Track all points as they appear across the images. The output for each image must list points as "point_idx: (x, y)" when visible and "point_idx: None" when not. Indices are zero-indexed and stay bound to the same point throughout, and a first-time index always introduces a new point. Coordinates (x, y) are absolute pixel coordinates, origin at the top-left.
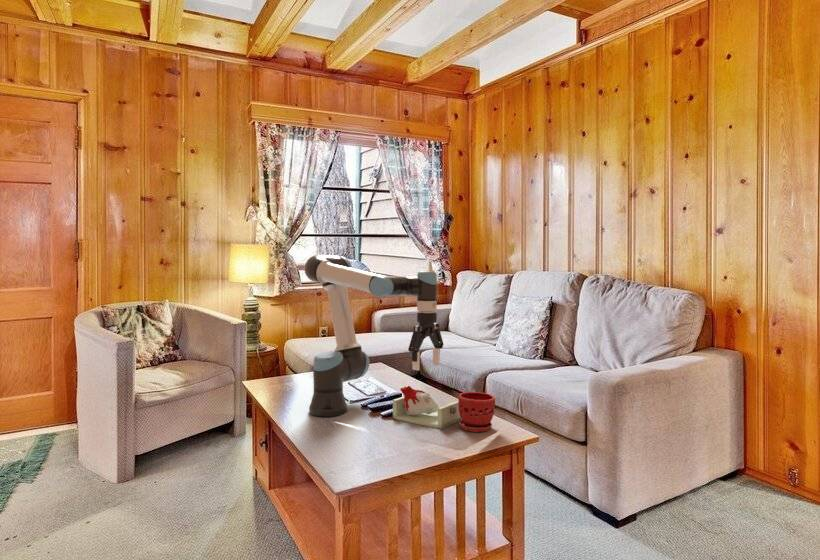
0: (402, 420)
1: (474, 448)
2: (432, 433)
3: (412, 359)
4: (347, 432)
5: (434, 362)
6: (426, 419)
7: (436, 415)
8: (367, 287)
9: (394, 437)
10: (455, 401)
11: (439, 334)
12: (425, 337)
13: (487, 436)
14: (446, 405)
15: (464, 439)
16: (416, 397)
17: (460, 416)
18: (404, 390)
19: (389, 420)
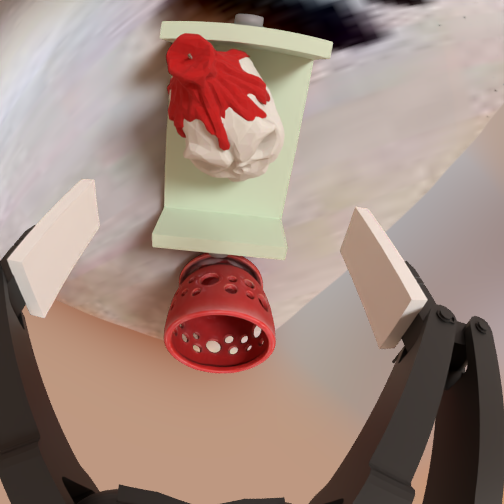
0: None
1: (109, 311)
2: (121, 212)
3: (23, 238)
4: (15, 39)
5: (356, 229)
6: None
7: None
8: None
9: (44, 154)
10: (270, 246)
11: (435, 472)
12: (88, 482)
13: None
14: (200, 243)
15: (135, 285)
16: (180, 126)
17: (190, 275)
18: (168, 66)
19: (155, 34)
